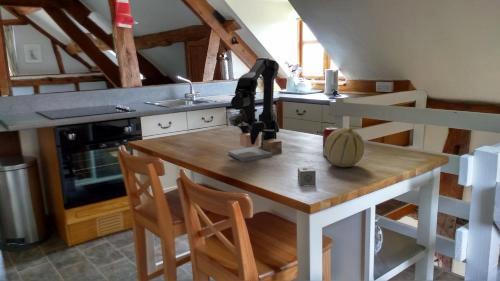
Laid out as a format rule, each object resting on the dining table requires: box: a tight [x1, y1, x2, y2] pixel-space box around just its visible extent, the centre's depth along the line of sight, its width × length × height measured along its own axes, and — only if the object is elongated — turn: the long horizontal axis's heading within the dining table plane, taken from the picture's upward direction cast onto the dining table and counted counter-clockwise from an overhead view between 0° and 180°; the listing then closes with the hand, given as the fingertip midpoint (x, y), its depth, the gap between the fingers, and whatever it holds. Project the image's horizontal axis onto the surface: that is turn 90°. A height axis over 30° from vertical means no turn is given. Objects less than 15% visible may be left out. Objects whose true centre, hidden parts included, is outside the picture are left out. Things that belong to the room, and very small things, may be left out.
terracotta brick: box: [239, 132, 260, 149], centre depth 168 cm, size 6×6×5 cm
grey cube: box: [297, 166, 317, 187], centre depth 129 cm, size 5×5×5 cm
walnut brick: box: [262, 139, 283, 154], centre depth 175 cm, size 6×6×5 cm
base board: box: [227, 146, 273, 162], centre depth 169 cm, size 14×14×2 cm
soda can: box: [322, 126, 339, 158], centre depth 163 cm, size 7×7×12 cm
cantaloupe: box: [325, 127, 365, 168], centre depth 147 cm, size 15×15×15 cm
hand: (249, 143), depth 168 cm, fingers closed on terracotta brick, 6 cm apart
